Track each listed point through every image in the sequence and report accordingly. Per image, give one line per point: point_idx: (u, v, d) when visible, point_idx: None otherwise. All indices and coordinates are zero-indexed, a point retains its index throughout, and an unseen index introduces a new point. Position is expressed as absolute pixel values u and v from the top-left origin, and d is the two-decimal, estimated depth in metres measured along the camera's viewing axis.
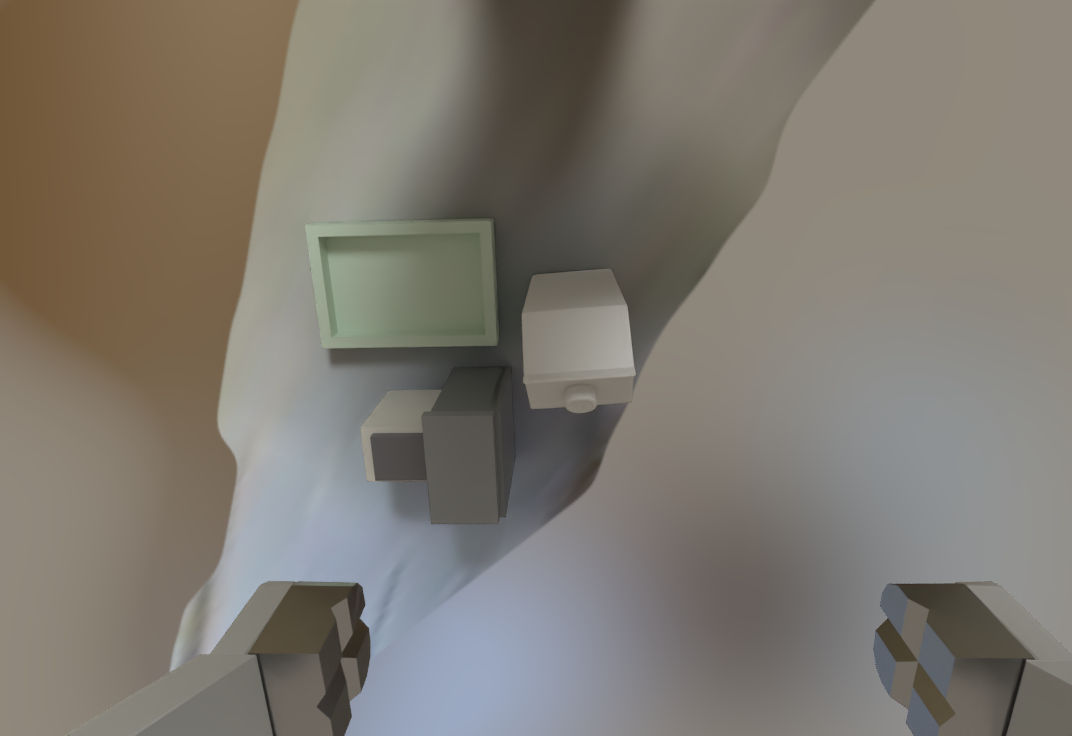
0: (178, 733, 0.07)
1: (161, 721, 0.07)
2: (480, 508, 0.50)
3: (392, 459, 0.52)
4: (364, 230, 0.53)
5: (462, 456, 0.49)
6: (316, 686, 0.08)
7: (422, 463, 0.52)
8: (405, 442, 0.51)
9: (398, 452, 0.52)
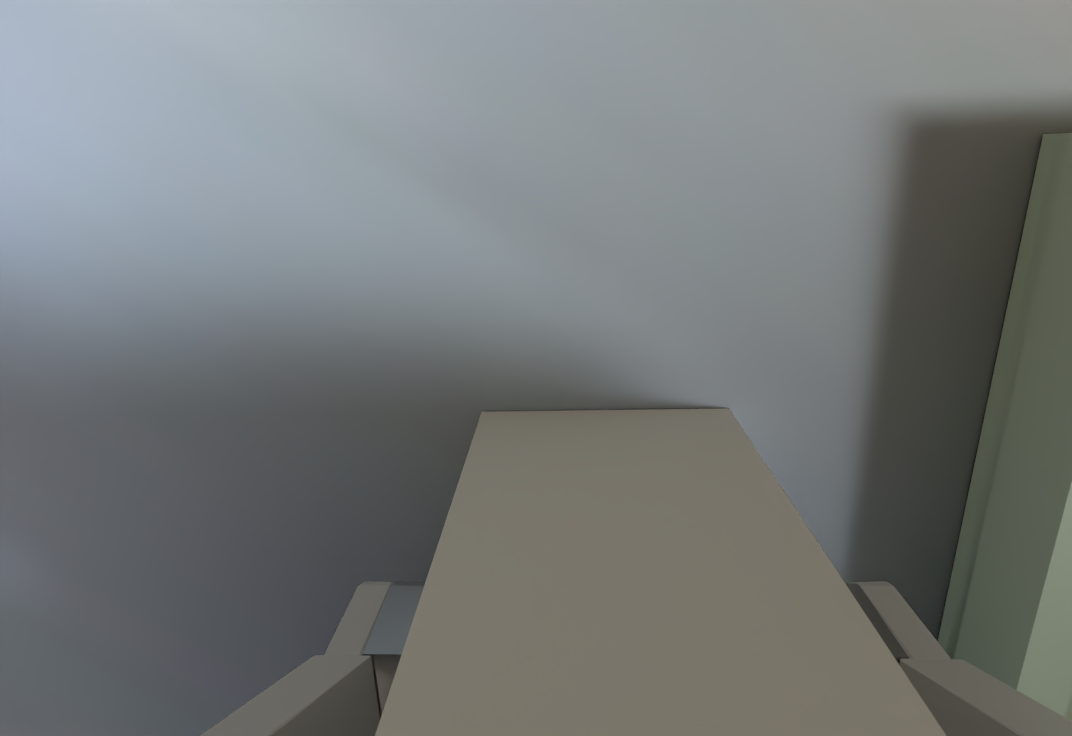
0: (305, 735, 0.07)
1: (291, 723, 0.07)
2: None
3: None
4: None
5: None
6: None
7: None
8: None
9: None
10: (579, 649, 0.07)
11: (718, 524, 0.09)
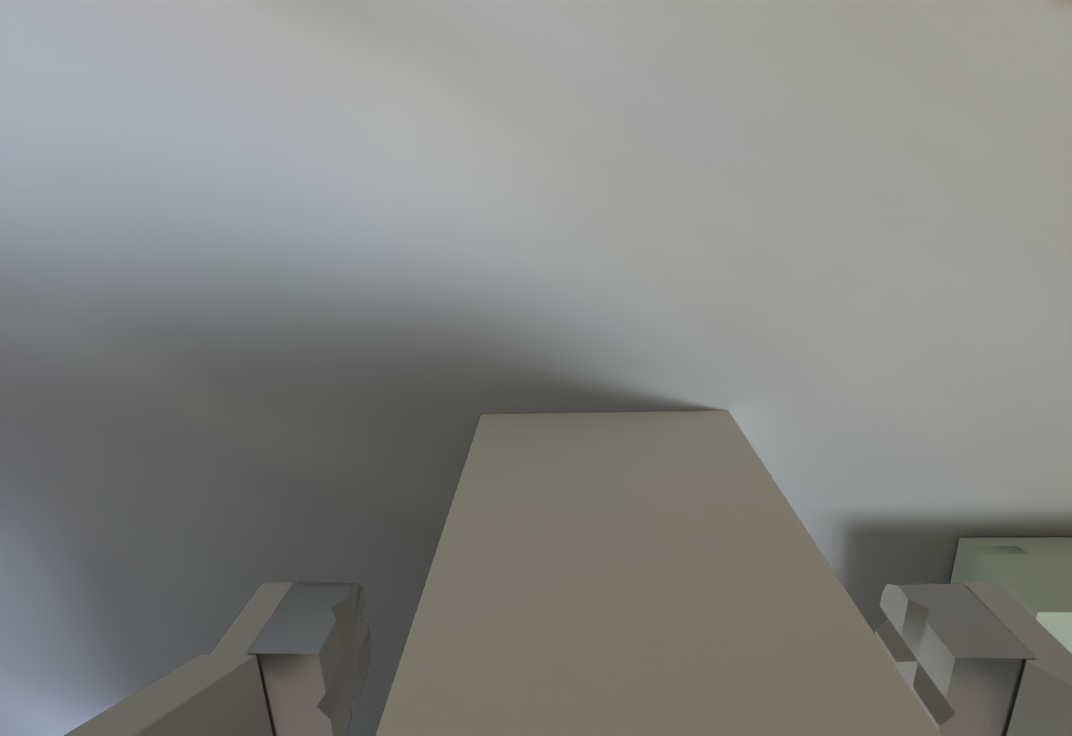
0: (178, 733, 0.07)
1: (161, 721, 0.07)
2: None
3: None
4: None
5: None
6: (317, 685, 0.08)
7: None
8: None
9: None
10: (576, 649, 0.07)
11: (716, 525, 0.09)
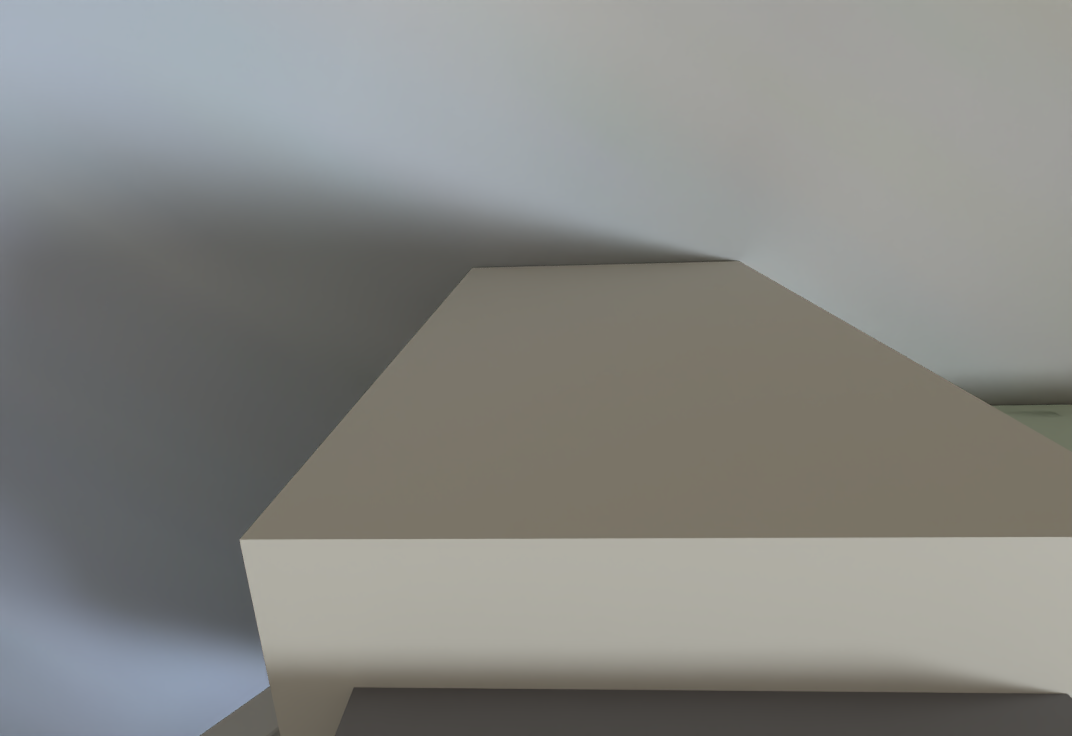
0: None
1: None
2: None
3: None
4: None
5: None
6: None
7: None
8: None
9: None
10: (575, 381, 0.06)
11: (733, 315, 0.08)
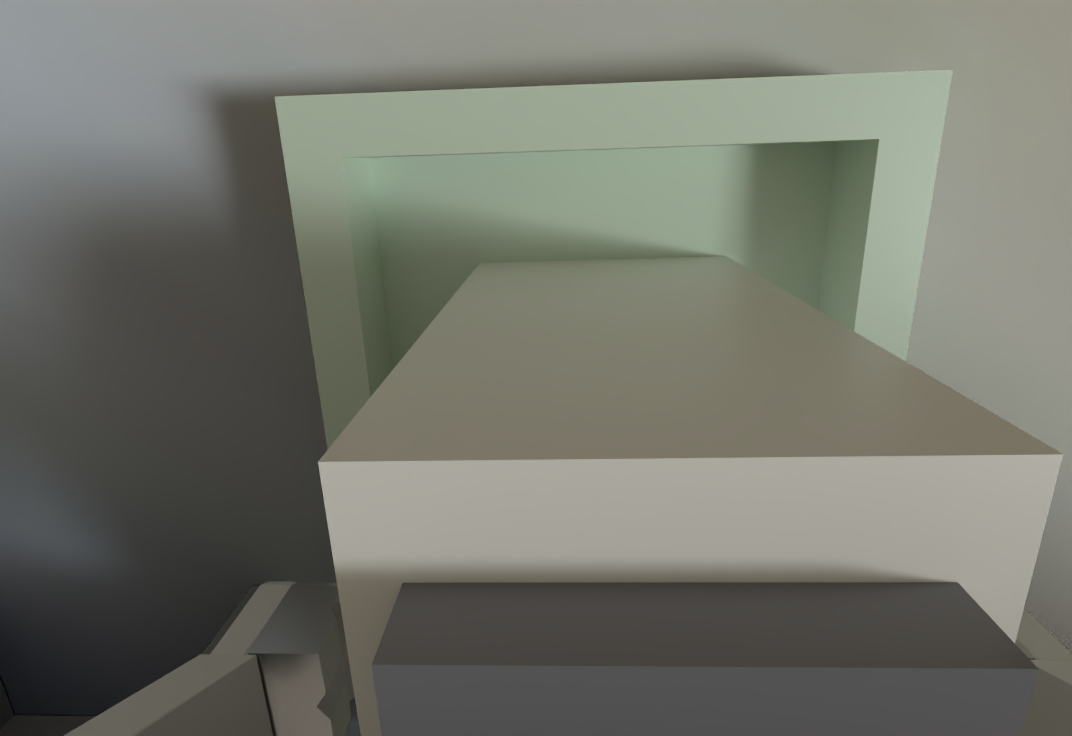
0: (178, 733, 0.07)
1: (161, 721, 0.07)
2: None
3: None
4: None
5: None
6: (317, 686, 0.08)
7: None
8: None
9: None
10: (575, 354, 0.07)
11: (714, 302, 0.09)
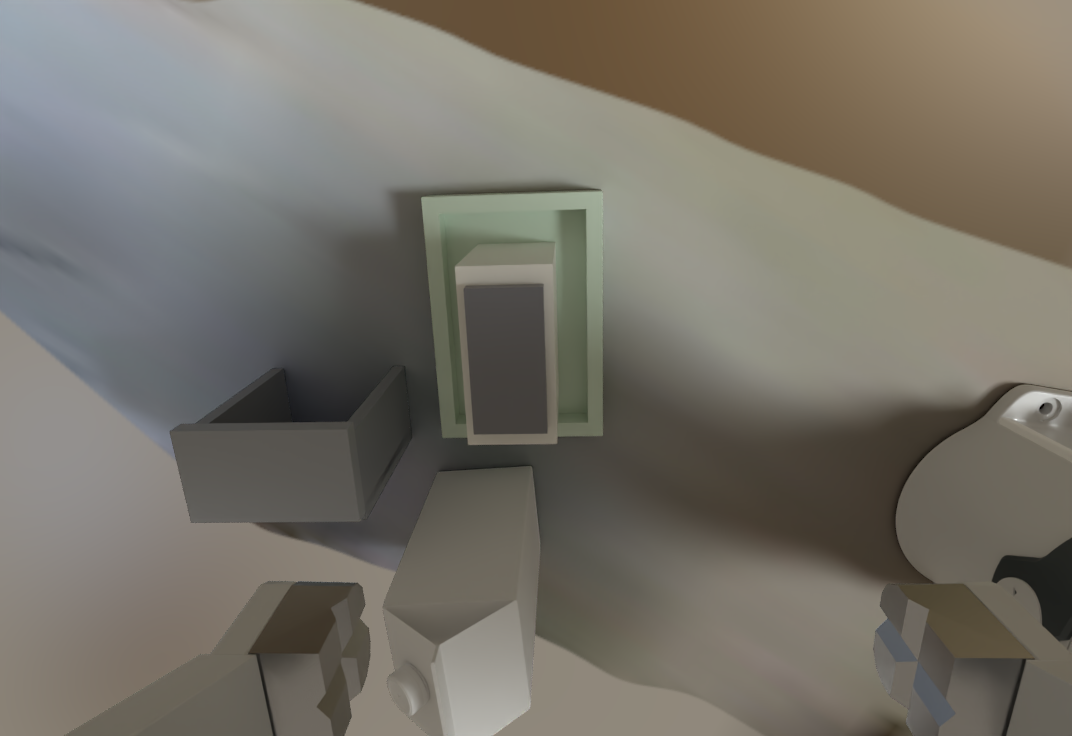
0: (178, 733, 0.07)
1: (160, 722, 0.07)
2: (211, 500, 0.34)
3: (504, 320, 0.32)
4: (593, 276, 0.39)
5: (291, 480, 0.34)
6: (317, 686, 0.08)
7: (498, 367, 0.33)
8: (534, 342, 0.32)
9: (516, 330, 0.32)
10: (495, 258, 0.34)
11: (534, 251, 0.36)
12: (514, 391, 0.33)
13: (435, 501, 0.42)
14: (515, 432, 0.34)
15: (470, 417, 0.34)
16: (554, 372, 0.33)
